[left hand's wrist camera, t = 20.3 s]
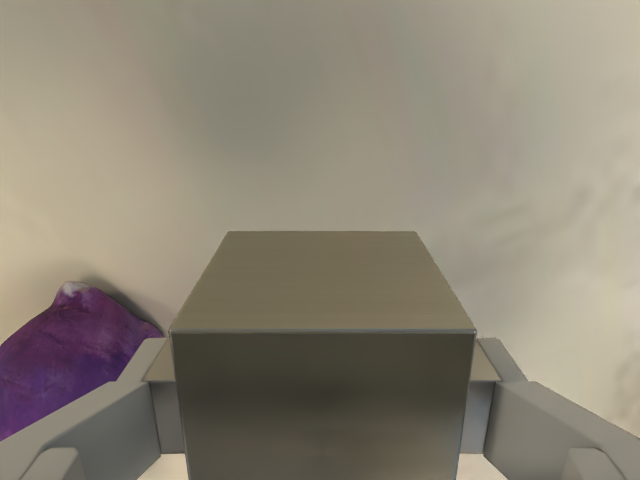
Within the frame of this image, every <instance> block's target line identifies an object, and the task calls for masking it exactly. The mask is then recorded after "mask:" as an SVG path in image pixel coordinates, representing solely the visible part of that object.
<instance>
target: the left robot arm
mask: <svg viewBox="0 0 640 480" xmlns="http://www.w3.org/2000/svg"><path fill="white" fill-rule="evenodd" d="M179 453H185V449H184V441H183V434H182V427H181V419H180V412H179V405H178V397H177V390H176V383H175V375H174V368H173V361H172V353H171V346H170V339H169V338H148V339H145V340H144V341H143V342H142V344H141V345H140V347H139V348H138V350H137V351H136V353H135V354H134V356H133V357H132V359H131V360H130V361H129V363H128V364H127V366H126V367H125V369H124V370H123V372H122V373H121V375H120V376H119V378H118V379H117V381H116V382H107V383H106V384H104V385H102V386H100V387H98V388H97V389H95V390H93V391H91V392H89V393H88V394H86V395H84V396H82V397H80V398H78V399H77V400H75V401H73V402H71V403H69V404H68V405H66V406H64V407H62V408H60V409H59V410H57V411H55V412H53V413H51V414H49V415H48V416H46V417H44V418H42V419H40V420H39V421H37V422H35V423H33V424H31V425H30V426H28V427H26V428H24V429H22V430H20V431H19V432H17V433H15V434H13V435H11V436H10V437H8V438H6V439H4V440H2V441H1V442H0V480H137V479H138V478H139V477H140V476H141V475H142V474H143V473H144V472H145V471H146V470H147V469H148V468H149V467H150V466H151V465H152V464H153V463H154V462H155V461H156V460H157V459H158V458H160V457H161V454H179ZM460 453H465V454H484V457H485V458H486V459H487V460H488V461H489V462H490V463H491V464H492V465H494V466H495V467H496V468H497V469H498V470H499V471H500V472H501V473H502V474H503V475H504V476H505V477H506V478H507V479H508V480H640V439H639V438H638V437H636V436H634V435H632V434H630V433H628V432H627V431H625V430H623V429H621V428H619V427H618V426H616V425H614V424H612V423H610V422H608V421H607V420H605V419H603V418H601V417H599V416H597V415H596V414H594V413H592V412H590V411H588V410H587V409H585V408H583V407H581V406H579V405H577V404H576V403H574V402H572V401H570V400H568V399H566V398H565V397H563V396H561V395H559V394H557V393H556V392H554V391H552V390H550V389H548V388H546V387H545V386H543V385H541V384H539V383H537V382H529V381H528V380H527V378H526V377H525V375H524V374H523V373H522V371H521V370H520V368H519V367H518V365H517V364H516V363H515V361H514V360H513V358H512V357H511V355H510V354H509V353H508V351H507V350H506V348H505V347H504V346H503V344H502V343H501V341H500V340H499V339H497V338H476V342H475V349H474V356H473V363H472V370H471V377H470V384H469V391H468V398H467V405H466V412H465V419H464V426H463V433H462V440H461V447H460Z"/></svg>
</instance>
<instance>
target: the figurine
mask: <svg viewBox="0 0 640 480" xmlns="http://www.w3.org/2000/svg"><path fill="white" fill-rule="evenodd" d="M148 338H164V337H163V335H162V333H161V331H160V330H159V329H157V328H156V327H154V326H153V325H151V324H150V323H149V322H144V321H142V320H141V319H139V318H138V317H137V316H135V315H134V314H132V313H131V312H130V311H128V310H127V309H126V308H124V307H123V306H122V305H120V304H119V303H117V302H116V301H114V300H113V299H111V298H110V297H109V296H107V295H106V294H105V293H104V292H102V291H101V290H99V289H98V288H96V287H94V286H91V285H89V284H85V283H82V282H73V281H68V282H65V283H64V284H63V285H62V287H61V288H60V289H59V291H58V292H57V295H56V297H55V300H54V302H53V304H52V305H51V307H49V308H48V309H47V310H45V311H44V312H42V313H41V314H39V315H38V316H36V317H35V318H33V319H32V320H30V321H29V322H28V323H26V324H25V325H24V326H23V327H21V328H20V329H19V330H18V331H16V332H15V333H14V334H13V335H11V336H10V337H9V338H8V339H7V340H6V341H5V342H4V343H3V344H2V345H1V346H0V442H1V441H2V440H4V439H6V438H8V437H10V436H11V435H13V434H15V433H17V432H19V431H20V430H22V429H24V428H26V427H28V426H30V425H31V424H33V423H35V422H37V421H39V420H40V419H42V418H44V417H46V416H48V415H49V414H51V413H53V412H55V411H57V410H59V409H60V408H62V407H64V406H66V405H68V404H69V403H71V402H73V401H75V400H77V399H78V398H80V397H82V396H84V395H86V394H88V393H89V392H91V391H93V390H95V389H97V388H98V387H100V386H102V385H104V384H106V383H107V382H116V381H117V379H118V378H119V376H120V375H121V373H122V372H123V370H124V369H125V367H126V366H127V364H128V363H129V361H130V360H131V359H132V357H133V356H134V354H135V353H136V351H137V350H138V348H139V347H140V345H141V344H142V342H143V341H144V340H145V339H148Z"/></svg>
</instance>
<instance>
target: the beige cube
mask: <svg viewBox="0 0 640 480" xmlns="http://www.w3.org/2000/svg"><path fill="white" fill-rule="evenodd" d="M168 332H169V339H170V346H171V353H172V361H173V368H174V375H175V383H176V390H177V397H178V405H179V412H180V419H181V427H182V434H183V441H184V449H185V456H186V463H187V471H188V478H189V480H456V475H457V468H458V461H459V454H460V447H461V440H462V433H463V426H464V419H465V412H466V405H467V398H468V391H469V384H470V377H471V370H472V363H473V356H474V349H475V342H476V335H477V330H476V328H475V326H474V325H473V323H472V321H471V320H470V318H469V317H468V315H467V313H466V312H465V310H464V308H463V307H462V305H461V304H460V302H459V300H458V299H457V297H456V296H455V294H454V292H453V291H452V289H451V288H450V286H449V284H448V283H447V281H446V279H445V278H444V276H443V275H442V273H441V271H440V270H439V268H438V267H437V265H436V263H435V262H434V260H433V258H432V257H431V255H430V254H429V252H428V250H427V249H426V247H425V246H424V244H423V242H422V241H421V239H420V237H419V236H418V234H417V233H416V232H415V231H229V232H227V234H226V236H225V237H224V239H223V240H222V242H221V244H220V245H219V247H218V249H217V250H216V252H215V254H214V255H213V257H212V259H211V260H210V262H209V264H208V265H207V267H206V269H205V270H204V272H203V274H202V275H201V277H200V279H199V280H198V282H197V284H196V285H195V287H194V288H193V290H192V292H191V293H190V295H189V297H188V298H187V300H186V302H185V303H184V305H183V307H182V308H181V310H180V312H179V313H178V315H177V317H176V318H175V320H174V322H173V323H172V325H171V327H170V328H169V331H168Z"/></svg>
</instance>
